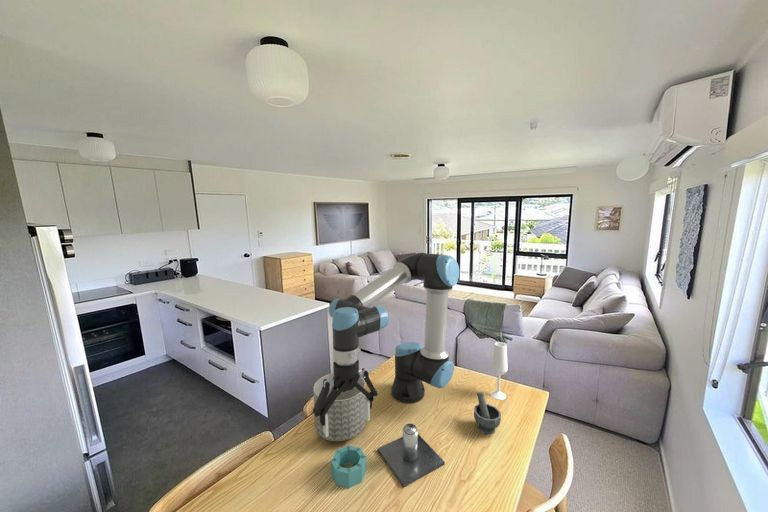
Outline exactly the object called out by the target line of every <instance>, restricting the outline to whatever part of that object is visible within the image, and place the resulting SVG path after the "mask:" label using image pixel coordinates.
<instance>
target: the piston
mask: <svg viewBox="0 0 768 512" xmlns="http://www.w3.org/2000/svg"><path fill="white" fill-rule="evenodd" d="M377 452H378V453H379V455H380V456H381V458H382V460H384V462H385V463H386V465H387V466H388V468H389V469H390V470H391V472H392V473H393V474H394V476H395V478H396V479H397V481H398V482H399V483H400V484H401V486H402V487H403V488H405V487H408V486H409V485H411V484H412V483H415V482H417V481H418V480H420V479H421V478H423V477H425V476H427V475H429V474H430V473H432V472H434V471H436V470H437V469H439V468H441V467H443V466H445V463H446V462H445V461H444V460H443V458H442V457H441V456H440V455H439V454H438V453H437V452H436V451H435V450H434V449H433V448H432V447H431V446H430V445H429V444H428V443H427V441H425V440H424V438H423V437H422V436H421V435H420V434H419V429H418V428H417V425H415V424H414V423H405V424H404V426H403V428H402V436H401V437H399V438H397V439H395V440H392V441H389V442H387V443H386V444H384V445H382V446H379V447H377Z"/></svg>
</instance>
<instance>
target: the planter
mask: <svg viewBox="0 0 768 512" xmlns="http://www.w3.org/2000/svg"><path fill="white" fill-rule="evenodd" d="M333 377H334V372H331V373H328V374H326V375H323V376H322V377H320V378H318V380H317V381H316V382H315V383H314V384H313V407H314V406H315V404H316V401H317V399H318V397H319V394H320V392H321V390H322V387H323V380H324V379H327V380H333ZM358 383H359V384H360V385H361V386H362V387H363V388H364V389H365V390H366V382H365V380H364V379H363V378H362V377H361V376H360V378H359V380H358ZM333 386H334V384H333V385H332V386H331V389H329V393H328V395H329V394H330V392H331V391H332V388H333ZM337 390H338V388H337ZM328 395H327V397H328ZM364 397H366V396H365V395H364V394H363V393H362V392H361V391H359V390H358V389H357V388H356V387H354V388H353V389H352V390H347V391H346V392H341V394H340V395H339V396H337V398H336V400H335V401H334V403H333V404H332V406H331V407H330V409H329V410H328V412H327V415H328V432H329V436H328V437H326V436H325V434H324V432H323V426H321V424H320V416H318V417H316V416H315V414H314V413H313V414H314V416H313V417H314V428H315V429H314V430H315V433H316V434H317V436H319V437H320V438H321V439H324V440H327V441H330V442H343V441H348V440H350V439H353V438H355V437H356V436H358V435H359V434H361V432H362V431H363V430H364V428H365V426H366V423H367V419H366V418H365V417H364Z"/></svg>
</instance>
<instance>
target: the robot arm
mask: <svg viewBox="0 0 768 512" xmlns="http://www.w3.org/2000/svg"><path fill="white" fill-rule="evenodd" d="M459 278H460V266H459V264H458V261H457V260H456V258H454V257H453V256H451V255H446V254H442V253H441V254H439V253H427V252H418V253H413V254H409V255H408V256H406V257H404V258H402V259H400V260H399V261H397V262H395V263H394V264H393V266H392V268H391V269H389V270H387V271H386V272H384V273H383V274H382V275H380V276H378V277H377V278H375V279H374V280H372V281H371V282H369V283H368V284H366V285H365V286H363V287H361V288H360V289H359V290H356V292H354V293H352V294H350V296H347V297H346V298H345V299H344V298H335V299H333V300H332V302H330V305H329V306H328V313H329V315H330V317H331V318H332V319H331V320H332V321H331V322H332V324H331V328H332V329H331V330H332V360H333V362H332V363H333V364H332V365H333V367H332V368H333V373H334V377H333V380H327V379H324V380H323V387H322V390H321V392H320V394H319V397H318V399H317V401H316V404H315V406H314V405H313V409H312V412H313V414H315V416H316V417H318V416H320V424H321V426H323V432H324V434H325V436H326V437H328V436H329V432H328V415H327V412H328V410H329V409H330V407H331V406H332V404H333V403H334V401H335V400H336V398H337V396H339V395H340V394H341V392H346V391H347V390H352V389H353V388H354V387H356V388H357V389H358V390H359V391H361V392H362V393H363V394H364V395H365V396H366V397H364V417H365V418H366V422H369V421H371V409H372V408H373V401H374V400H375V397H377V396H379V393H378V391H377V389H376V387H375V386H374V384H373V382H372V381H371V379H370V375H369V371H368V370H367V369H366V368H365V367H363V368H362V369H361V370H360V365H359V364H360V363H359V362H360V361H359V358H360V357H359V353H360V352H359V348H360V347H359V344H360V343H359V341H360V340H359V339H360V338H361V337H364V336H366V335H370V334H372V333H376V332H378V331H381V330H382V329H384V328H386V327H387V326H388V325H389V313H388V311H387V309H386V308H385V307H384V306H381V305H376V304H377V303H378V302H380V301H381V300H382V299H384V298H385V297H386V296H388V295H389V294H390V293H391V292H393V291H394V290H396V289H397V288H398V287H400V286H402V285H403V284H408V283H410V282H411V281H414V280H415V281H423V284H422V285H423V289H424V290H425V291H426V300H425V301H426V302H425V303H426V305H425V307H426V308H425V322H424V323H425V325H424V326H425V327H424V346H423V347H422V345H421V343H419V342H416V341H406V342H402V343H399V344H397V346H396V347H395V350H394V375H395V376H394V380H393V382H392V385H391V388H390V390H391V392H390V393H391V396H392V398H393V399H395V400H396V401H397V402H399V403H400V402H401V403H404V404H415V403H418V402H420V401H422V400H423V399H424V397H425V395H426V394H425V386H424V383H426V384H428V385H430V386H431V387H434V388H437V389H443V388H445V387H446V386H447V385H448V384H449V383H450V381H451V379H452V377H453V375H454V371H455V363H454V362H453V361H452V360H449V359H450V358H449V357H450V353H449V352H448V351H447V349H446V347H447V346H446V345H447V325H448V323H447V322H448V310H449V309H448V306H449V305H448V304H449V293H450V292H451V291H453V286H455V285H457V283H458V282H459ZM374 305H376V306H374ZM360 376H361V377H362V378H363V379H364V381H365V385H366V386H367V387H368V389H369V391H368V390H367V389H366V388H365V389H364V388H363V387H362V386H361V385H360V384H359V383H358V380H359V378H360ZM423 382H424V383H423ZM333 384H334V386H333V388H332V391H331V392H330V394H329V395H328V393H329V389H331V386H332V385H333ZM337 388H338V390H337ZM327 395H328V397H327ZM315 416H314V417H315Z"/></svg>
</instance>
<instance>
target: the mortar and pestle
mask: <svg viewBox="0 0 768 512" xmlns="http://www.w3.org/2000/svg"><path fill="white" fill-rule="evenodd" d="M476 396H477V399H478V404H476V405H475V406H474V408H473V417H474V420H475V422H476V424H477V425H478V430H479V432H480V433H483V434H485V435H493V434H495V432H496V428H498V427H499V426H500V424H501V419H502V417H501V416H502V411H500V410H499V409H498V408H497V406H493V405H492V404H489V403H486V402H487V401H486V399H485V393H484V391H478V392H476Z"/></svg>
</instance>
